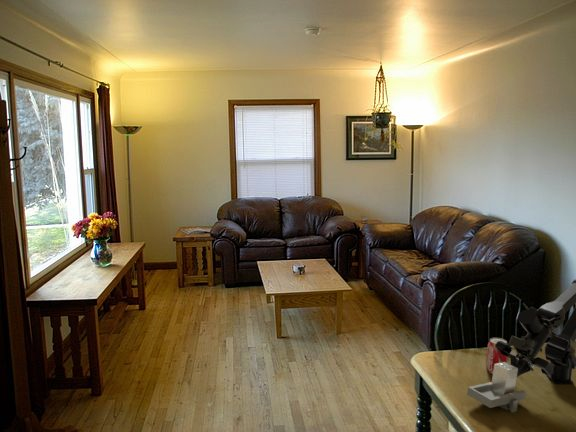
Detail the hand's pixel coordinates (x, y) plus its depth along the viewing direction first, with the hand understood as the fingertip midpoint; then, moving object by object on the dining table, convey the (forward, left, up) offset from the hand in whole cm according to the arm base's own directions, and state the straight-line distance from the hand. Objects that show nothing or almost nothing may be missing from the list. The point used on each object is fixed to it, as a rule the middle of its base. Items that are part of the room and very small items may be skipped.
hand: (509, 379), depth 164 cm
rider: (+3, +2, -4) cm, 5 cm away
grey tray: (+5, +3, -5) cm, 8 cm away
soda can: (-4, -19, -7) cm, 21 cm away
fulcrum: (+4, +2, -7) cm, 8 cm away
